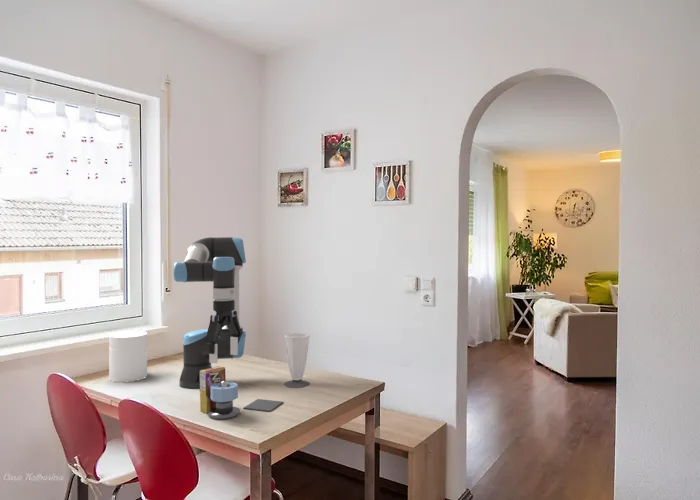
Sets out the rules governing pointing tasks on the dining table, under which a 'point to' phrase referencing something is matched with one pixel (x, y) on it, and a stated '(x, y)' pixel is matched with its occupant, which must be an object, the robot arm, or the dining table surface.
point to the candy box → (206, 380)
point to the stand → (224, 409)
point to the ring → (224, 392)
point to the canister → (127, 356)
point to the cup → (297, 358)
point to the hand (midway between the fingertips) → (224, 358)
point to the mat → (263, 405)
